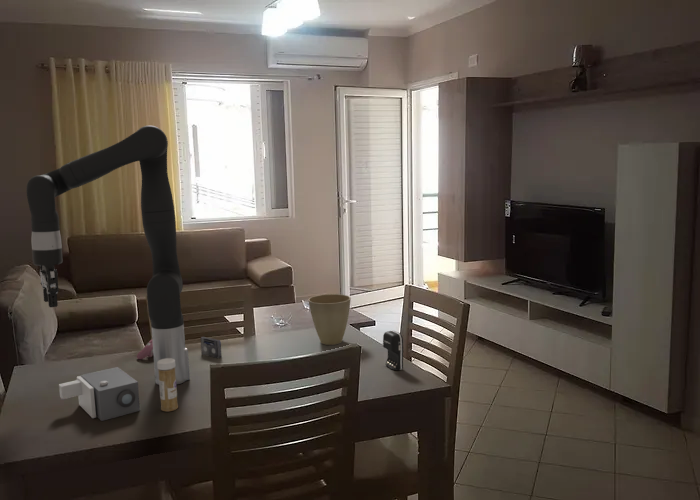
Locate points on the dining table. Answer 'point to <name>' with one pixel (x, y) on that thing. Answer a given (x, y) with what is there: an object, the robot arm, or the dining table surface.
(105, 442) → the dining table surface
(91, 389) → the side cover
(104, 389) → the box
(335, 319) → the plant pot
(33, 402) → the dining table surface
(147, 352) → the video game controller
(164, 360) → the sprinkles bottle
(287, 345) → the dining table surface
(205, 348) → the mini dv tape
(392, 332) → the battery charger
